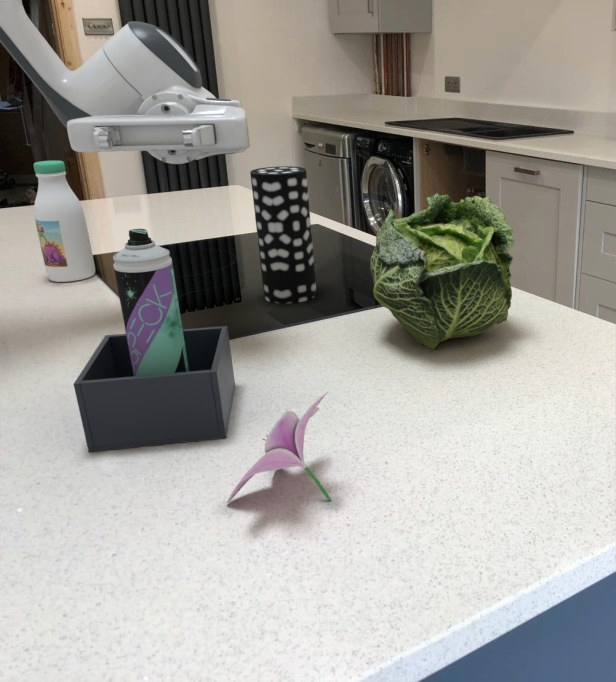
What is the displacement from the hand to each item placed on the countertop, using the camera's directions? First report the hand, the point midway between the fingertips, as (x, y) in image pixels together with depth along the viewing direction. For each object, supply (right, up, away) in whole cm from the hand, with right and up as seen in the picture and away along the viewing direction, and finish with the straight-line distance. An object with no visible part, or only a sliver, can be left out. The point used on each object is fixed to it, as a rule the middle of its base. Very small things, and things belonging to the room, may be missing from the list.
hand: (145, 139), depth 81 cm
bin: (+3, -30, -1) cm, 30 cm away
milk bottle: (-34, -11, +49) cm, 61 cm away
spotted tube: (+7, -15, +38) cm, 42 cm away
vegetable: (+32, -21, +22) cm, 45 cm away
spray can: (+3, -30, -1) cm, 30 cm away
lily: (+19, -36, -15) cm, 43 cm away
